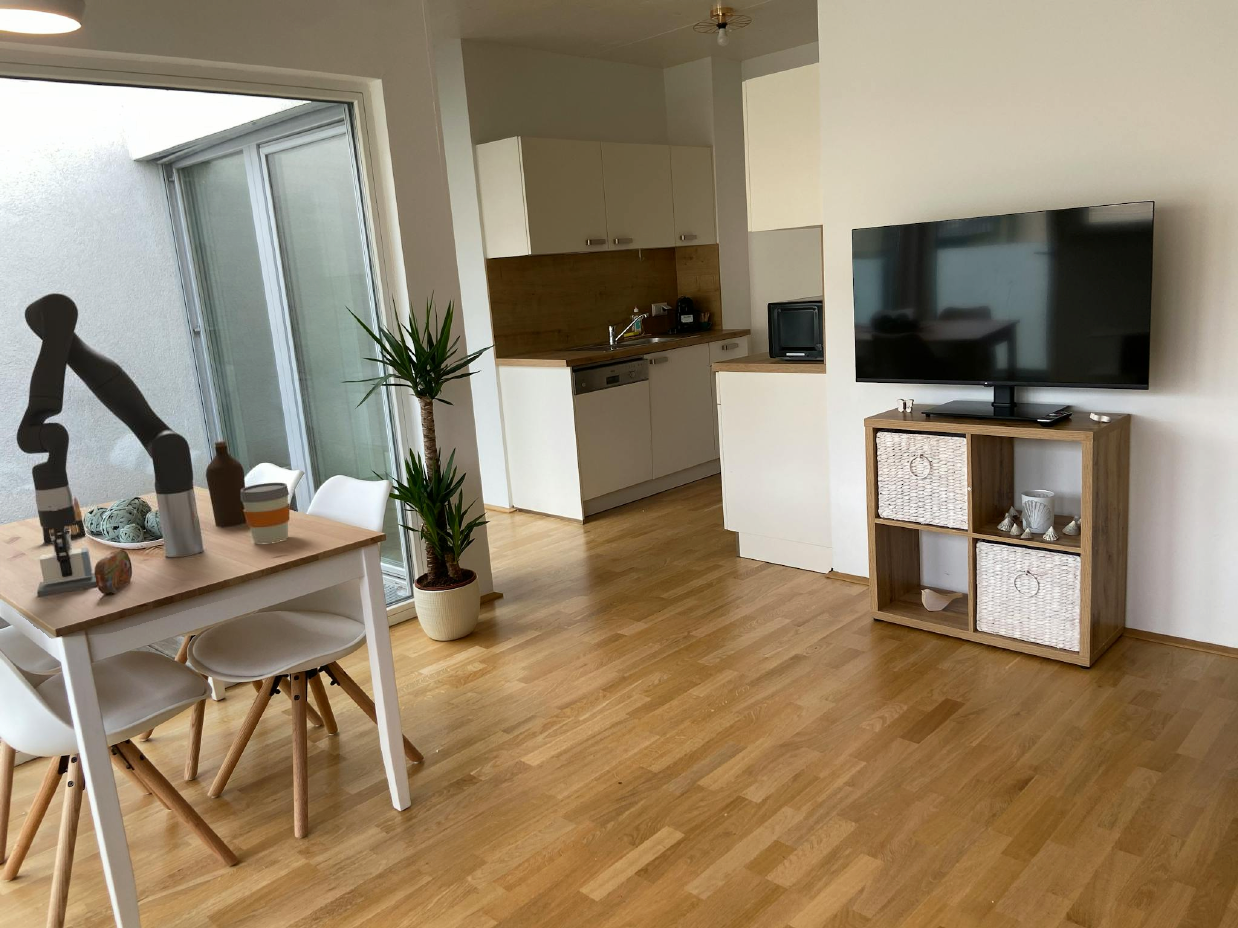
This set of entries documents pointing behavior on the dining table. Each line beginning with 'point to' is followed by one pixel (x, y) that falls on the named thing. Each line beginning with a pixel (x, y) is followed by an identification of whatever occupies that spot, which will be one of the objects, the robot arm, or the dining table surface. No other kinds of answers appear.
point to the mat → (66, 585)
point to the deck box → (78, 565)
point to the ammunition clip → (69, 526)
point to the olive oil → (226, 487)
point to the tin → (113, 572)
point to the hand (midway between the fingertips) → (67, 573)
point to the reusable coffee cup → (266, 511)
